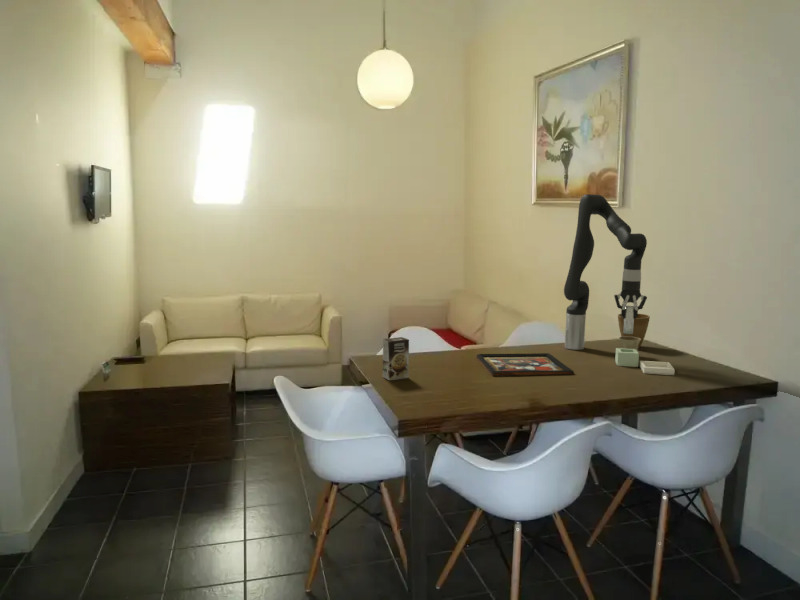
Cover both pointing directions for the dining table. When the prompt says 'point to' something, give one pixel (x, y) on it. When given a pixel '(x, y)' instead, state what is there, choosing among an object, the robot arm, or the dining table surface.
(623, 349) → the block
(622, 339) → the flower pot
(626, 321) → the pin
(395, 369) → the food box
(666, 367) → the tray
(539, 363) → the framed painting
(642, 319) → the plant pot
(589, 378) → the dining table surface
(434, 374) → the dining table surface
